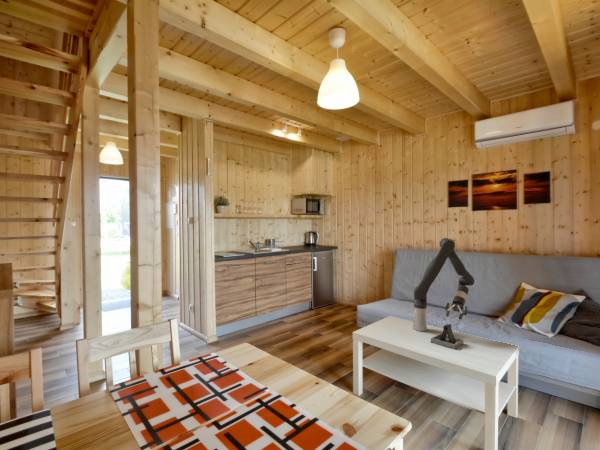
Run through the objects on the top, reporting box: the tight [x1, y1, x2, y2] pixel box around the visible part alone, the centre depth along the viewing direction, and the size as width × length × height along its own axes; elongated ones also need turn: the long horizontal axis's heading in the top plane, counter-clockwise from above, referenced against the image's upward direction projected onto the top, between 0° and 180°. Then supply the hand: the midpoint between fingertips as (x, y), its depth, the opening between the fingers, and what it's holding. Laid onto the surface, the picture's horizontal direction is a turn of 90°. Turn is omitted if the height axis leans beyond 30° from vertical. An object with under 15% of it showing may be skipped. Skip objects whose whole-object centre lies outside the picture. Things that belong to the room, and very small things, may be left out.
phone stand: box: [440, 323, 456, 344], centre depth 213 cm, size 9×6×12 cm, turn 42°
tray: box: [430, 333, 464, 350], centre depth 213 cm, size 16×14×3 cm
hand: (453, 317), depth 220 cm, fingers open, 8 cm apart
